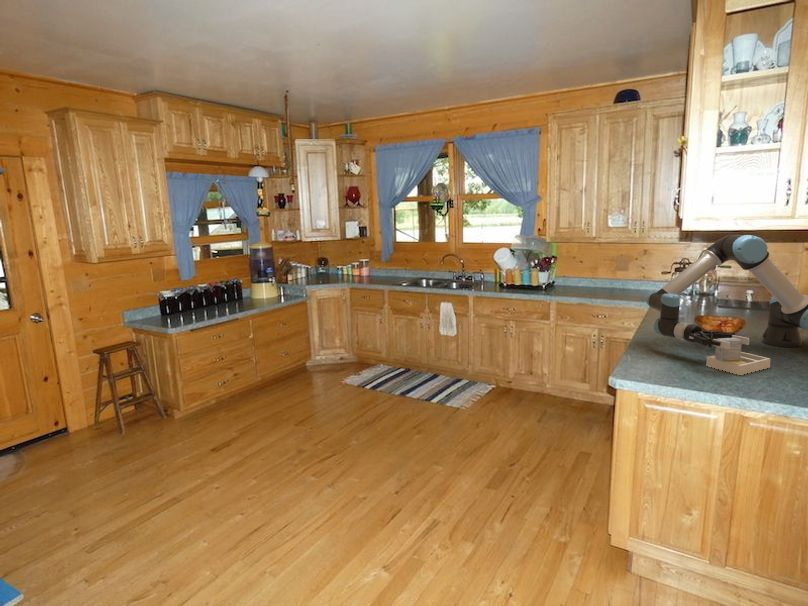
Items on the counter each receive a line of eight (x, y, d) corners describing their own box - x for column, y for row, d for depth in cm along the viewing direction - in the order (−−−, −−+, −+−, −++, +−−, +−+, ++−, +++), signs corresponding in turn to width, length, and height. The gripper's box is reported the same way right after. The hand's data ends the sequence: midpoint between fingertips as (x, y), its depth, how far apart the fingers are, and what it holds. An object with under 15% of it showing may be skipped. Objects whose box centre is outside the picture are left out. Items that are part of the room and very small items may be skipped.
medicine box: (733, 357, 203) (734, 337, 202) (740, 360, 199) (742, 340, 197) (714, 358, 203) (716, 338, 202) (721, 361, 199) (723, 341, 197)
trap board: (735, 359, 215) (736, 349, 214) (769, 367, 202) (770, 357, 201) (706, 366, 207) (706, 356, 206) (740, 375, 194) (741, 365, 194)
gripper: (705, 337, 221) (756, 348, 202) (669, 344, 212) (718, 357, 192) (706, 320, 220) (758, 330, 200) (670, 327, 211) (720, 338, 191)
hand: (739, 343), depth 196 cm, fingers open, 11 cm apart
